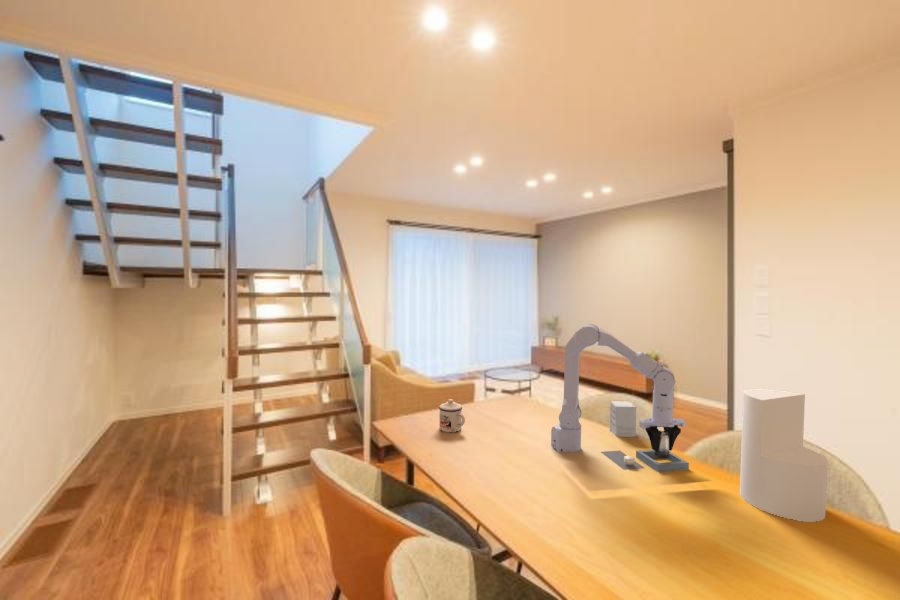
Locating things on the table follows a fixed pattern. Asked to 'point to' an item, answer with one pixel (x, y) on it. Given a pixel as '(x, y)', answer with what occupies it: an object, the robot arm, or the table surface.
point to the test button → (629, 460)
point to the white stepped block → (780, 457)
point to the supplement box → (623, 418)
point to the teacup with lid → (451, 416)
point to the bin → (666, 466)
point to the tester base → (620, 460)
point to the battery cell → (663, 446)
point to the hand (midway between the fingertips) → (661, 449)
